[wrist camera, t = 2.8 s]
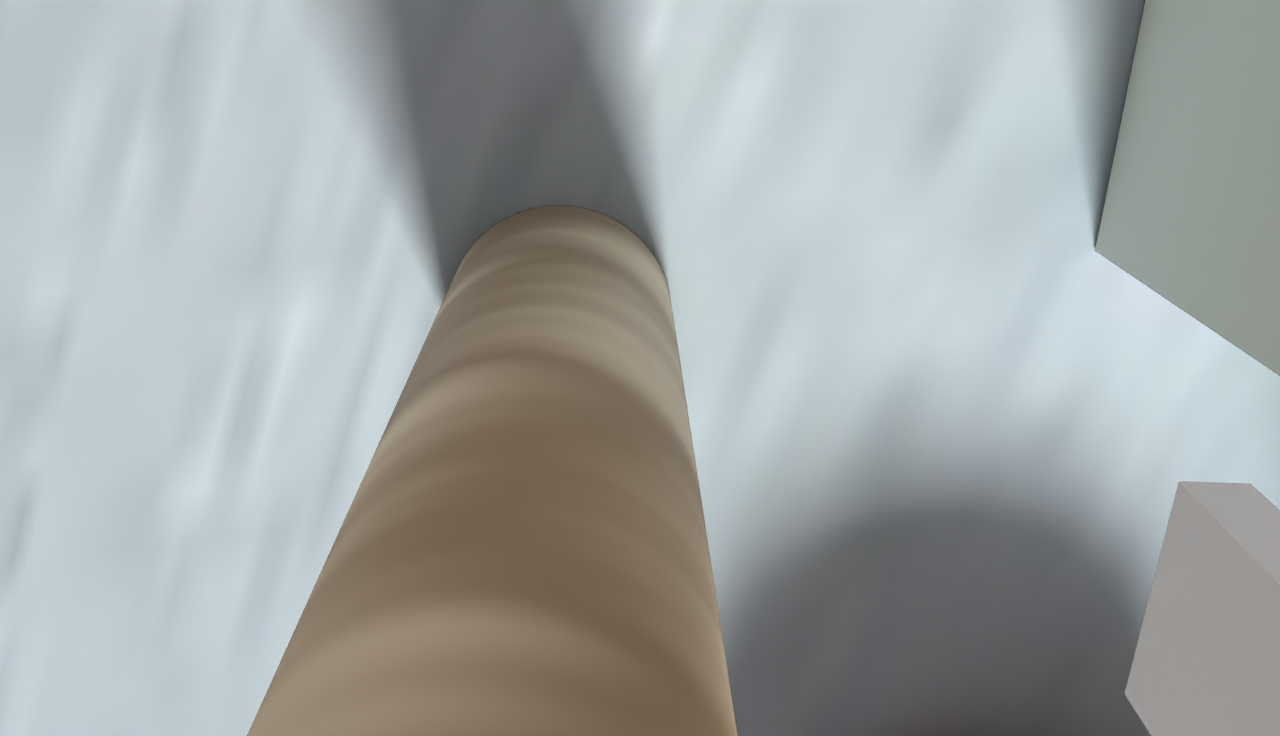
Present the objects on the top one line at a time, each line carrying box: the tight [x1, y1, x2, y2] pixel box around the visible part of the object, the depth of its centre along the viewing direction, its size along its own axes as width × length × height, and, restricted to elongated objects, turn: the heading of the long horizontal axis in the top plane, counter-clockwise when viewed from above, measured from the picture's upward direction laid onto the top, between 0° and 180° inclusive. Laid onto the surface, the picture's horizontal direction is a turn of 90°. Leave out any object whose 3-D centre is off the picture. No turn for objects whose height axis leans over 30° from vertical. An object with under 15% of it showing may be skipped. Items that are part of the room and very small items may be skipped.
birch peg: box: [247, 205, 738, 736], centre depth 13 cm, size 4×4×15 cm
